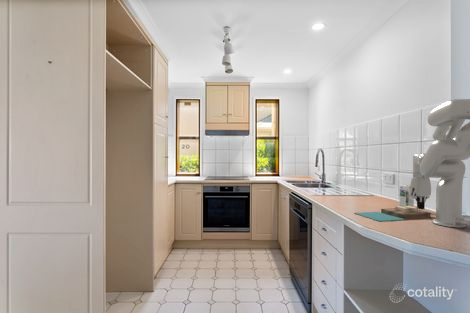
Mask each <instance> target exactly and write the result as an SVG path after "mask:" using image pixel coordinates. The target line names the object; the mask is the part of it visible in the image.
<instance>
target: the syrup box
mask: <svg viewBox="0 0 470 313" xmlns="http://www.w3.org/2000/svg"><path fill="white" fill-rule="evenodd" d="M398 195H399V196H398V199H399V200H398V206H412V207H415V204H414V203H415V199H414V198H412V195H410V184H408V185H407V184H399V193H398Z"/></svg>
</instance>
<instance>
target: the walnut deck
mask: <svg viewBox="0 0 470 313" xmlns="http://www.w3.org/2000/svg"><path fill="white" fill-rule="evenodd" d="M380 213H384V214H388V215H391V216H395V217H398V218H402V219H405V220H407V219H410V220H411V219H427V218H429V219H430V218H431V214H432V213H431V212H428V211H424V210H421V209H418V212H402V211H398V210H395V207H394V208H390V207H389V208H381V209H380Z"/></svg>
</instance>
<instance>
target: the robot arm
mask: <svg viewBox="0 0 470 313" xmlns="http://www.w3.org/2000/svg"><path fill="white" fill-rule="evenodd" d="M466 120H470V98H469V99H468V98H462V99H461V98H459V99H458V98H455V99H450V100H448V101H446V102H443V103H442V104H440V105H438V106H436V107H435V108H433V109H432V110H431V111H430V112H429V113H428V115H427V123H428V125H429V126H431V127H436V128H435V129H434V131H433V133H432V139H433V140H434V141H433V142H432V143H431V144H430V145H429V147H428V149H427V150H426V152H425V153H415V154H413V155H412V178H411V181H410V184H409V185H410V195H412V198H414V200H415V202H416V207H417V208H418V210H425V204H426V201H427V200H428V199H430V196H431V195H432V186H431V185H432V184H431V178H433V179H434V178H436V179H437V178H438V179H439V178H440V179H439V180H438V182H437V183H436V189H435V192H436V193H435V218H433V219H432V220H431V223H432V224H435V225H439V226H442V227H448V228H459V229H460V228H466V227H467V226H470V220H467V219H465V216H463V182H464V177H465V173H466V164H465V162H464V161H466V160H468V159H469V158H470V121H469V122H468V123H466V124H464V123H465V121H466ZM463 124H464V125H463Z"/></svg>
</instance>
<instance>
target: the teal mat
mask: <svg viewBox="0 0 470 313" xmlns="http://www.w3.org/2000/svg"><path fill="white" fill-rule="evenodd" d="M354 214H355V215H358V216H361V217H363V218H367V219H370V220H373V221H376V222H392V221H394V222H396V221H406V219H402V218H398V217H395V216H391V215H388V214H384V213H381V211H369V212H368V211H367V212H366V211H365V212H354Z"/></svg>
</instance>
